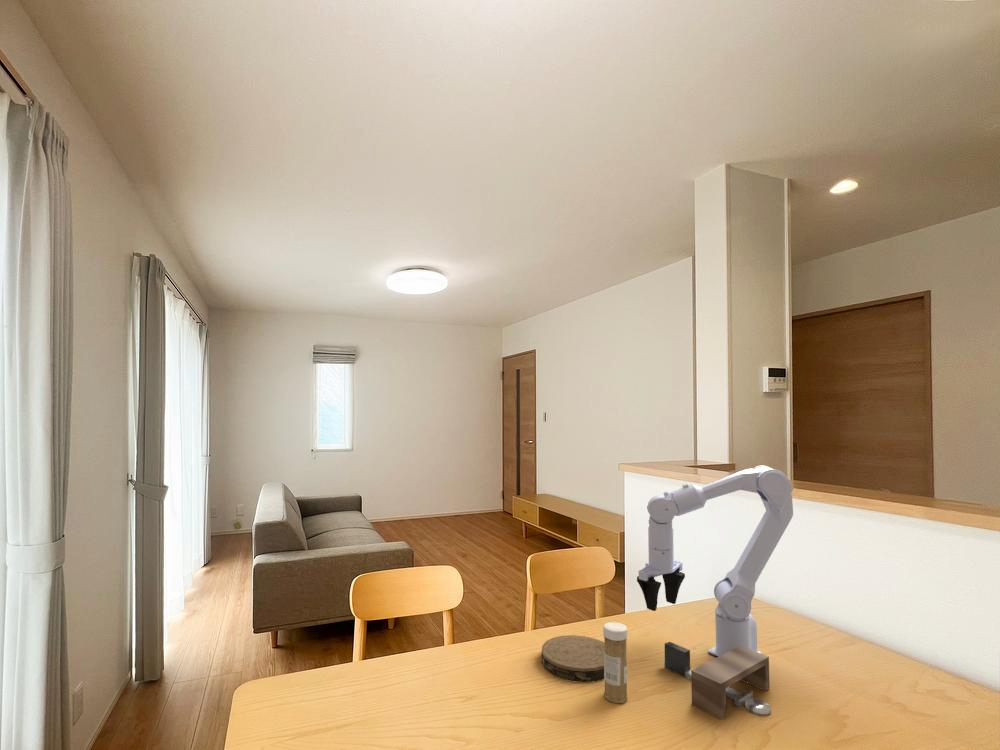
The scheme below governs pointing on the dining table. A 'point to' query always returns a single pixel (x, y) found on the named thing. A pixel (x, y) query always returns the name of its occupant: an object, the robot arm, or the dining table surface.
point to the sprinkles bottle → (615, 662)
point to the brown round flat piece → (574, 658)
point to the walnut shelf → (727, 678)
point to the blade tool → (680, 663)
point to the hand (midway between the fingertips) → (661, 606)
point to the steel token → (757, 706)
